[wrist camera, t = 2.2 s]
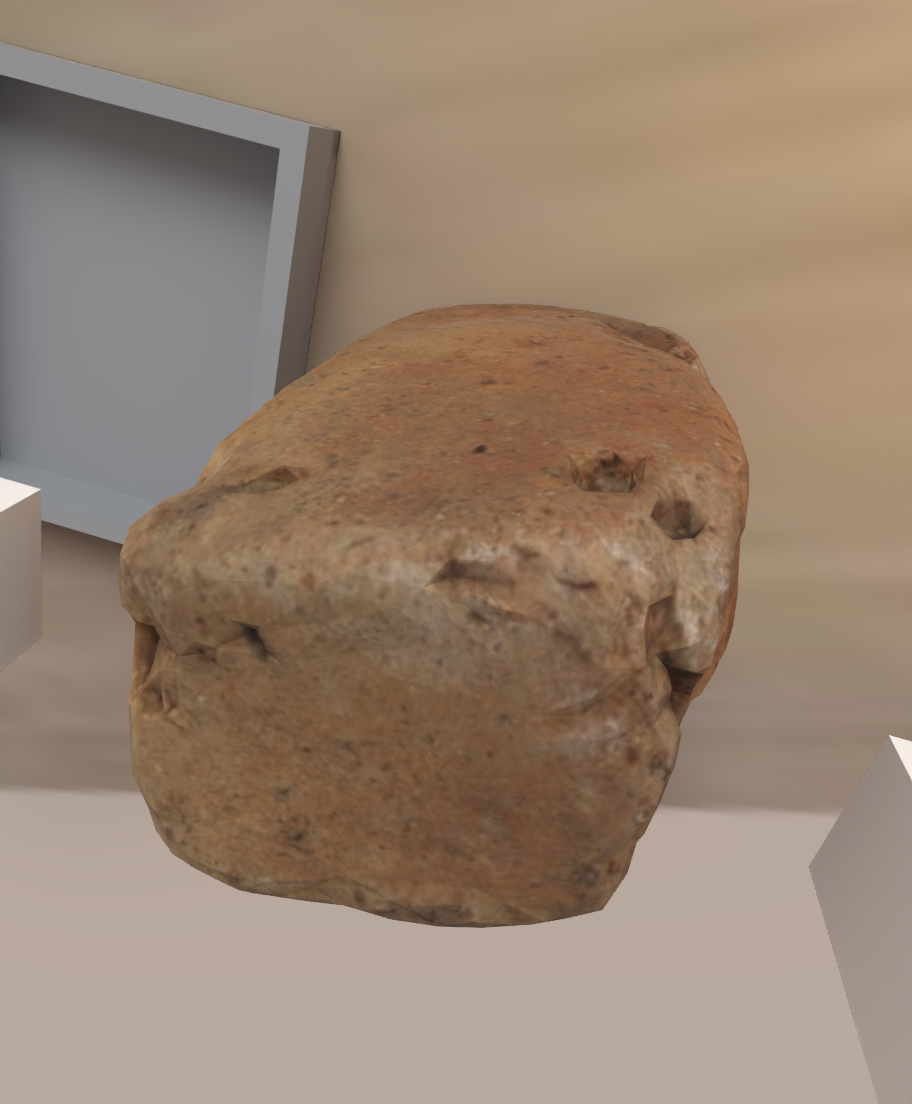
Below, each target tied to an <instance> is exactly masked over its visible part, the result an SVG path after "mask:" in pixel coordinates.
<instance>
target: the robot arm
mask: <svg viewBox="0 0 912 1104" xmlns="http://www.w3.org/2000/svg"><path fill="white" fill-rule="evenodd" d="M41 637H42V596H41V489H38V488H35V487H32V486H28V485H25V484H21V483H18V482H14V481H11V480H7V479H4V478H0V671H1V670H2V669H4V668H5V667H6V666H7V665H9V664H10V663H11V662H12V661H13V660H15V659H16V658H17V657H18V656H19V655H21V654H22V653H23V652H24V651H25V650H27V649H28V648H29V647H30V646H31V645H33V644H34V643H35V642H36V641H38V640H39V639H40V638H41ZM809 869H810V872H811V875H812V879H813V883H814V886H815V889H816V893H817V896H818V900H819V903H820V906H821V910H822V913H823V916H824V920H825V923H826V927H827V930H828V933H829V937H830V940H831V944H832V947H833V951H834V954H835V958H836V961H837V964H838V968H839V971H840V975H841V978H842V981H843V985H844V988H845V992H846V995H847V998H848V1002H849V1005H850V1008H851V1012H852V1015H853V1019H854V1022H855V1025H856V1029H857V1032H858V1036H859V1039H860V1043H861V1046H862V1049H863V1053H864V1056H865V1060H866V1063H867V1067H868V1070H869V1073H870V1077H871V1080H872V1084H873V1087H874V1090H875V1094H876V1097H877V1101H878V1104H912V742H911V741H907V740H904V739H900V738H897V737H893V736H890V735H889V736H888V738H887V739H886V741H885V743H884V744H883V746H882V747H881V749H880V751H879V752H878V754H877V756H876V757H875V759H874V761H873V762H872V764H871V765H870V767H869V769H868V770H867V772H866V774H865V775H864V777H863V779H862V780H861V782H860V783H859V785H858V787H857V788H856V790H855V792H854V793H853V795H852V797H851V798H850V800H849V802H848V803H847V805H846V806H845V808H844V810H843V811H842V813H841V815H840V816H839V818H838V820H837V821H836V823H835V825H834V826H833V828H832V829H831V831H830V833H829V834H828V836H827V838H826V840H825V841H824V843H823V844H822V846H821V847H820V849H819V851H818V852H817V854H816V856H815V857H814V859H813V861H812V862H811V864H810V866H809Z"/></svg>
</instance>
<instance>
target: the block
mask: <svg viewBox="0 0 912 1104" xmlns="http://www.w3.org/2000/svg"><path fill="white" fill-rule="evenodd" d="M748 496H749V464H748V461H747V457H746V454H745V451H744V448H743V445H742V442H741V439H740V436H739V432H738V428H737V426H736V424H735V422H734V420H733V419H732V417H731V415H730V413H729V411H728V410H727V408H726V406H725V404H724V402H723V399H722V398H721V396H720V395H719V394H718V393H717V391H716V390H715V389H714V388H713V386H712V385H711V384H710V383H709V379H708V376H707V374H706V371H705V369H704V367H703V365H702V363H701V361H700V359H699V357H698V355H697V353H696V352H695V350H694V349H693V348H692V346H691V345H690V343H689V342H688V341H687V340H685V339H684V338H682V337H680V336H679V335H677V334H676V333H674V332H672V331H670V330H667V329H665V328H661V327H653V326H647V325H645V324H644V323H640V322H635V321H631V320H627V319H623V318H618V317H614V316H610V315H605V314H600V313H594V312H589V311H583V310H575V309H566V308H560V307H554V306H543V305H530V304H479V305H460V306H453V307H445V308H437V309H429V310H425V311H422V312H418V313H415V314H412V315H410V316H408V317H405V318H402V319H399V320H396V321H394V322H391V323H389V324H387V325H385V326H383V327H381V328H379V329H377V330H375V331H373V332H371V333H369V334H367V335H364V336H363V337H361V338H360V339H358V340H356V341H354V342H352V343H351V344H349V345H348V346H346V347H344V348H343V349H341V350H340V351H338V352H336V353H335V355H334V356H333V357H332V358H331V359H329V360H328V361H326V362H324V363H323V364H321V365H319V366H318V367H316V368H314V369H313V370H311V371H309V372H308V373H306V374H305V375H303V376H302V377H300V378H299V379H297V380H296V381H294V382H293V383H291V384H290V385H288V386H286V387H285V388H283V389H282V390H281V391H280V392H279V393H278V394H277V395H276V396H274V397H273V398H271V399H270V400H269V401H267V402H266V403H265V404H264V405H263V406H262V408H261V409H260V410H259V411H257V412H256V413H254V414H253V415H251V416H250V417H248V418H246V419H245V420H244V422H243V423H242V424H241V425H240V427H239V428H237V429H236V430H235V431H233V432H232V433H231V434H230V435H228V436H227V437H226V438H225V439H223V440H222V441H221V442H220V443H218V445H217V446H216V448H215V450H214V452H213V454H212V455H211V457H210V459H209V461H208V463H207V465H206V466H205V468H204V470H203V472H202V474H201V475H200V478H199V480H198V482H197V484H196V486H194V487H192V488H189V489H187V490H184V491H182V492H179V493H177V494H174V495H172V496H169V497H167V498H165V499H163V500H162V501H161V502H160V503H158V504H157V505H156V506H155V507H153V508H152V509H151V510H149V511H148V512H147V513H146V514H144V515H143V516H142V517H141V518H139V519H138V520H137V521H136V522H134V523H133V524H132V525H131V526H129V529H128V532H127V535H126V538H125V541H124V544H123V547H122V550H121V553H120V560H119V581H118V584H119V590H120V596H121V602H122V606H123V607H124V608H125V609H126V610H127V611H128V612H129V614H130V615H131V616H132V618H133V619H134V621H135V622H136V623H135V642H134V660H133V676H132V683H131V691H130V699H129V717H130V734H131V752H132V770H133V775H134V777H135V780H136V782H137V784H138V786H139V788H140V790H141V793H142V795H143V797H144V799H145V801H146V804H147V806H148V808H149V811H150V814H151V816H152V820H153V823H154V825H155V828H156V831H157V832H158V834H159V835H160V837H161V838H162V840H163V841H164V842H165V844H166V845H167V847H168V848H169V849H170V851H171V852H172V854H174V855H175V856H177V857H178V858H180V859H181V860H183V861H185V862H186V863H188V864H189V865H191V866H193V867H194V868H196V869H197V870H199V871H201V872H203V873H205V874H207V875H209V876H211V877H213V878H215V879H217V880H219V881H221V882H223V883H226V884H227V885H229V886H232V887H234V888H236V889H238V890H242V891H246V892H251V893H257V894H263V895H270V896H277V897H283V898H290V899H297V900H304V901H311V902H321V903H329V904H338V905H344V906H348V907H351V908H355V909H358V910H362V911H365V912H369V913H373V914H375V915H379V916H382V917H385V918H388V919H392V920H399V921H406V922H413V923H420V924H427V925H433V926H445V927H479V928H484V927H499V926H514V925H529V924H536V923H542V922H548V921H554V920H559V919H565V918H569V917H573V916H578V915H582V914H586V913H591V912H595V911H599V910H602V909H603V908H604V907H605V905H606V904H607V902H608V901H609V899H610V898H611V896H612V895H613V893H614V892H615V891H616V889H617V888H618V886H619V885H620V883H621V882H622V880H623V879H624V877H625V876H626V874H627V872H628V869H629V865H630V862H631V859H632V856H633V853H634V849H635V846H636V843H637V841H638V840H639V839H640V838H641V837H642V836H643V834H644V833H645V831H646V829H647V827H648V825H649V823H650V821H651V819H652V817H653V815H654V813H655V811H656V809H657V807H658V805H659V803H660V801H661V798H662V795H663V793H664V790H665V788H666V785H667V782H668V780H669V777H670V775H671V773H672V771H673V769H674V767H675V763H676V758H677V753H678V748H679V743H680V738H681V737H680V728H679V726H680V723H681V720H682V718H683V716H684V714H685V712H686V711H687V709H688V706H689V704H690V702H691V700H693V699H694V698H696V697H697V696H699V695H700V694H701V693H702V691H703V690H704V688H705V686H706V685H707V683H708V682H709V680H710V678H711V677H712V675H713V673H714V672H715V670H716V667H717V665H718V663H719V661H720V659H721V657H722V655H723V653H724V651H725V649H726V647H727V644H728V641H729V637H730V634H731V631H732V628H733V622H734V613H735V607H736V601H737V591H738V569H739V552H740V537H741V535H742V533H743V530H744V528H745V521H746V513H747V504H748Z"/></svg>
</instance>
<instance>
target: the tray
mask: <svg viewBox="0 0 912 1104" xmlns="http://www.w3.org/2000/svg"><path fill="white" fill-rule="evenodd" d="M340 132H341V131H338V130H334V129H330V128H327V127H323V126H319V125H315V124H311V123H308V122H304V121H300V120H296V119H292V118H289V117H285V116H281V115H277V114H273V113H270V112H266V111H262V110H258V109H254V108H251V107H247V106H243V105H239V104H235V103H232V102H228V101H224V100H220V99H216V98H213V97H209V96H205V95H201V94H197V93H194V92H190V91H186V90H182V89H178V88H175V87H171V86H167V85H163V84H159V83H156V82H152V81H148V80H144V79H141V78H137V77H133V76H129V75H125V74H122V73H118V72H114V71H110V70H106V69H103V68H99V67H95V66H91V65H87V64H84V63H80V62H76V61H72V60H68V59H65V58H61V57H57V56H53V55H49V54H46V53H42V52H38V51H34V50H30V49H27V48H23V47H19V46H15V45H11V44H8V43H4V42H0V478H4V479H7V480H11V481H14V482H18V483H21V484H25V485H28V486H32V487H35V488H38V489H41V520H43V521H46V522H50V523H53V524H56V525H60V526H63V527H67V528H70V529H73V530H77V531H80V532H83V533H87V534H90V535H93V536H97V537H100V538H103V539H107V540H110V541H113V542H117V543H120V544H124V541H125V538H126V535H127V532H128V529H129V526H131V525H132V524H133V523H134V522H136V521H137V520H138V519H139V518H141V517H142V516H143V515H144V514H146V513H147V512H148V511H149V510H151V509H152V508H153V507H155V506H156V505H157V504H158V503H160V502H161V501H162V500H163V499H165V498H167V497H169V496H172V495H174V494H177V493H179V492H182V491H184V490H187V489H189V488H192V487H194V486H196V484H197V482H198V480H199V478H200V475H201V474H202V472H203V470H204V468H205V466H206V465H207V463H208V461H209V459H210V457H211V455H212V454H213V452H214V450H215V448H216V446H217V445H218V443H220V442H221V441H222V440H223V439H225V438H226V437H227V436H228V435H230V434H231V433H232V432H233V431H235V430H236V429H237V428H239V427H240V425H241V424H242V423H243V422H244V420H245V419H246V418H248V417H250V416H251V415H253V414H254V413H256V412H257V411H259V410H260V409H261V408H262V406H263V405H264V404H265V403H266V402H267V401H269V400H270V399H271V398H273V397H274V396H276V395H277V394H278V393H279V392H280V391H281V390H282V389H283V388H285V387H286V386H288V385H290V384H291V383H293V382H294V381H296V380H297V379H299V378H300V377H302V376H303V375H304V373H305V367H306V360H307V353H308V346H309V340H310V333H311V326H312V320H313V313H314V306H315V299H316V293H317V286H318V279H319V273H320V266H321V259H322V253H323V246H324V239H325V232H326V226H327V219H328V212H329V206H330V199H331V192H332V185H333V179H334V172H335V165H336V159H337V152H338V145H339V138H340Z"/></svg>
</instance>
